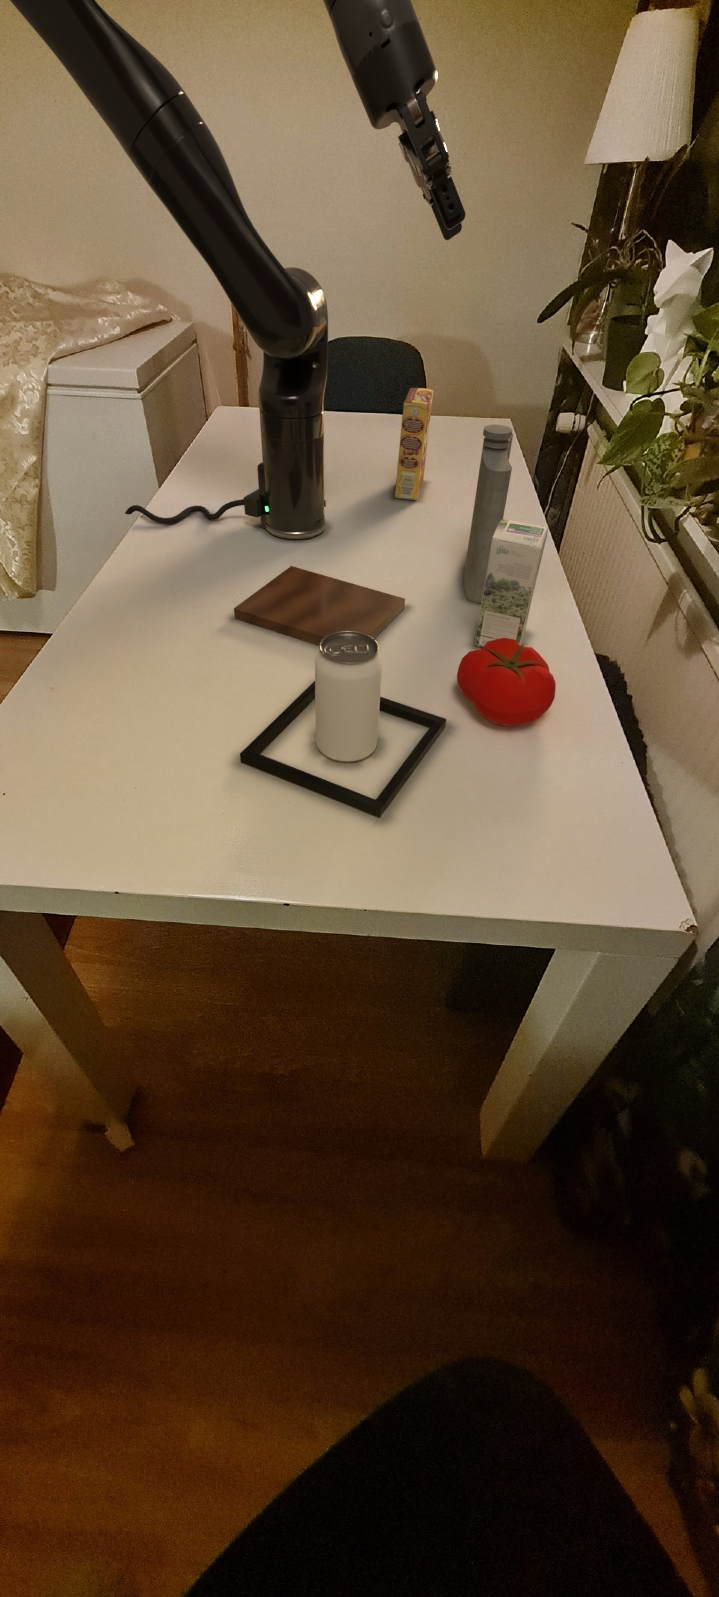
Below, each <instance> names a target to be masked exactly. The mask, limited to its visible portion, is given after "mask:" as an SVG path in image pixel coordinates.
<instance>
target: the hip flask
mask: <svg viewBox="0 0 719 1597" xmlns="http://www.w3.org/2000/svg"><path fill="white" fill-rule="evenodd" d="M482 435H483V443H482V449H481V456H480V464H479V470H478V476H477V484H476V491H475V497H474V505H473V510H472V511H473V512H472V518H471V525H470V531H469V539H468V546H467V550H466V558H465V566H464V572H463V591H464V594H465V598H466V599H467V600H468V601H469V602H472V603H475V604H476V603H477V604H481V602H482V596H483V590H484V584H485V579H486V573H487V567H488V561H489V555H490V549H491V543H492V539H493V535H494V533H495V531H496V529H497V526H498V525H499V523H500V521H501V519H504V516H505V509H506V504H507V499H508V493H509V487H510V482H511V475H512V471H513V467H512V465H511V463H510V456H511V450H512V444H513V439H514V434H513V429H512V428H511V427H509V426H507V425H503V424H488V425H485V426H484V427H483V432H482Z"/></svg>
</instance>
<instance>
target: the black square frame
mask: <svg viewBox="0 0 719 1597" xmlns="http://www.w3.org/2000/svg"><path fill="white" fill-rule="evenodd" d="M314 700H315V680H313V682H311V684H310V685H308V686H307V688H305V690H304V691H302V693H300V694H299V695H298V696H297V697H296V698H295V699H294V700H293V701H292V702H291V703H290V704H289V705H288V706H287V707H286V708H285V709H284V710H283V711H282V712H281V713H280V714H279V715H278V716H277V717H276V718H274V719H273V721H271V723H270V724H269V725H268V726H267V727H266V728H264V730H262V731H261V732H260V734H259V735H258V736H256V737H255V738H254V739H253V740H252V741H251V742H250V743H249V744H248V745H247V746H246V747H245V748H244V749H243V750H242V751H241V752H240V753H239V758H240V760H239V761H240V763H241V764H243V765H247V766H249V767H251V768H254V769H256V770H259V771H261V772H264V773H266V774H269V775H270V776H271V775H272V776H274V777H275V778H276V777H277V778H279V779H281V780H284V781H286V782H288V783H291V784H294V785H295V786H299V787H301V788H304V789H306V790H308V791H311V792H314V793H316V794H319V795H321V796H323V797H326V798H329V799H331V800H333V801H335V802H338V803H342V804H344V805H346V806H348V807H351V808H354V809H356V810H358V811H361V812H363V813H366V814H368V815H371V816H373V817H376V818H378V819H380V818H381V817H382V816H383V814H384V813H385V811H386V810H387V809H388V807H389V806H390V804H391V803H392V802H393V800H394V799H395V798H396V796H397V795H398V794H399V792H400V790H401V789H402V788H403V787H404V785H405V784H406V782H407V781H408V780H409V779H410V777H411V776H412V774H413V773H414V771H415V770H416V769H417V767H418V766H419V765H420V763H421V762H422V761H423V759H424V758H425V757H426V755H427V754H428V753H429V751H430V749H431V748H432V747H433V745H434V744H435V743H436V741H437V740H438V739H439V737H440V736H441V735H442V733H443V732H444V730H445V729H446V726H447V725H446V724H447V718H445V717H442V716H439V715H436V714H433V713H430V712H427V711H424V710H421V709H419V708H415V707H412V706H410V705H406V704H404V703H400V702H398V701H394V700H391V699H389V698H386V697H383V696H380V707H379V712H383V713H386V714H389V715H392V716H394V717H397V718H401V719H403V720H406V721H409V722H412V723H414V724H418V725H421V726H423V727H427V728H428V729H427V731H426V732H425V733H424V735H423V736H422V737H421V738H420V739H419V741H418V742H417V744H416V745H415V747H414V748H413V750H412V751H411V752H410V753H409V754H408V755H407V757H406V759H405V760H404V761H403V763H402V764H401V765H400V766H399V768H398V770H396V772H395V773H394V775H393V776H392V777H391V779H390V780H389V781H388V783H387V784H386V785H385V787H384V788H383V789H382V790H381V792H380V793H379V795H378V796H377V797H376V798H373V797H370V796H368V795H365V794H363V793H360V792H358V791H355V790H352V789H350V788H347V787H345V786H342V785H339V784H336V783H334V782H332V781H329V780H327V779H324V778H321V777H319V776H317V775H314V774H312V773H309V772H307V771H305V770H301V769H299V768H296V767H294V766H292V765H288V764H286V763H284V762H281V761H278V760H276V759H273V758H271V757H268V756H266V755H263V754H262V752H263V751H265V749H266V748H268V746H269V745H270V744H271V743H272V742H273V741H274V740H275V739H277V737H279V735H280V734H282V732H284V730H285V729H286V728H287V727H289V725H291V723H292V722H293V721H294V720H295V719H296V718H298V716H299V715H300V714H301V713H303V711H304V710H305V709H306V708H308V706H309V705H310V704H312V702H313V701H314Z"/></svg>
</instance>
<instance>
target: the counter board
mask: <svg viewBox="0 0 719 1597" xmlns="http://www.w3.org/2000/svg"><path fill="white" fill-rule="evenodd" d="M405 604H406V598H404V597H401V596H397V595H395V594H391V593H387V592H383V591H381V590H376V589H373V588H369V587H367V586H363V585H359V584H355V583H352V582H349V581H346V580H342V579H338V578H335V577H331V576H327V575H326V574H325V575H324V574H321V573H317V572H315V571H311V570H307V569H303V568H300V567H296V566H293V565H290V566H289V567H287V568H286V569H284V570H283V571H282V572H281V573H279V574H278V575H276V576H275V577H274V578H273V579H271V580H270V581H268V583H266V584H265V585H263V586H262V587H260V588H259V589H258V590H257V591H255V592H254V593H253V594H251V595H250V596H248V597H247V598H245V599H244V600H243V601H241V602H240V603H239V604H237V605H236V606H234V608H233V614H234V619H236V620H238V621H242V622H244V623H247V624H250V625H254V626H257V627H260V628H263V629H266V630H269V631H271V632H275V633H278V634H282V635H284V636H288V637H291V638H294V639H297V640H299V641H303V642H306V643H309V644H312V645H315V646H318V647H319V644H320V642H321V640H322V639H323V638H325V637H326V636H328V635H330V634H332V633H335V632H340V631H355V632H360V633H364V634H366V635H369V636H370V637H372V638H373V639H374V640H375V639H376V638H377V637H378V636H379V635H380V634H381V633H382V632H383V631H384V630H385V629H386V628H387V627H388V626H389V624H391V622H392V621H393V620H395V619H396V618H397V617H398V615H399V614H401V612H403V610H405V607H406V606H405Z"/></svg>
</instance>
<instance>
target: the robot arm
mask: <svg viewBox="0 0 719 1597" xmlns="http://www.w3.org/2000/svg"><path fill="white" fill-rule="evenodd" d="M9 1H10V3H11V4H12V5H13V7H14V8H15V9H16V10H17V11H18V12H19V13H20V15H22V17H23V18H24V19H25V20H26V21H27V23H28V24H29V26H31V28H32V29H33V30H34V32H36V34H37V35H38V36H39V37H40V38H41V40H43V42H44V43H45V44H46V45H47V47H48V48H49V49H50V51H51V52H52V53H53V54H54V56H55V57H56V58H57V60H59V62H60V63H61V65H62V66H63V67H64V68H65V70H66V71H67V73H68V74H69V75H70V77H71V79H72V80H73V81H74V82H75V83H76V85H77V87H78V88H79V89H80V91H81V92H82V93H83V95H84V96H85V97H86V99H87V100H88V102H89V103H90V104H91V106H92V107H93V109H94V110H95V111H96V112H97V114H98V115H99V117H101V120H102V121H103V122H104V124H105V125H106V126H107V127H108V129H109V130H110V132H111V133H112V134H113V136H114V138H115V139H116V140H117V142H118V143H119V145H120V146H121V148H122V150H123V151H124V152H125V154H126V156H127V157H128V158H129V160H130V161H131V163H132V164H133V166H134V167H135V168H136V170H137V171H138V172H139V174H140V175H141V178H143V180H144V181H145V182H146V184H147V185H148V186H149V189H150V190H151V191H152V192H153V194H154V195H155V196H156V197H157V198H158V199H159V201H160V202H161V204H162V205H163V206H164V208H165V209H166V210H167V211H168V213H169V214H170V216H171V217H172V219H173V220H174V222H175V223H176V224H177V226H178V227H179V229H180V230H181V231H182V233H183V234H184V235H185V237H186V238H187V239H188V241H189V242H190V243H191V245H192V246H193V247H194V248H195V250H196V251H197V252H198V254H199V255H200V257H201V258H202V259H203V260H204V262H205V263H206V265H207V266H208V267H209V269H210V270H211V272H212V273H213V275H214V277H215V279H216V280H217V282H218V283H219V285H220V287H221V288H222V290H223V291H224V293H225V295H226V296H227V299H228V301H229V302H230V303H231V305H232V307H233V308H234V310H235V312H236V313H237V315H238V317H239V318H240V321H241V322H242V324H243V326H244V327H245V329H246V330H247V332H248V334H249V336H250V337H251V339H252V340H253V341H254V343H255V344H256V346H257V347H258V348H259V349H260V350H261V351H262V355H263V356H262V357H263V358H262V359H263V360H262V361H263V362H262V372H261V378H260V382H259V387H258V392H257V394H258V395H257V398H258V409H259V410H258V411H259V424H260V427H259V428H260V440H261V456H262V461H261V462H259V464H257V467H256V468H257V469H256V470H257V483H258V488H257V489H256V490H254V491H252V492H250V493H248V494H247V495H246V496H243V498H242V499H236V500H232V501H229V502H227V503H224V504H223V505H221V507H219V508H218V510H217V511H216V512H214V513H211V512H210V511H209V509H208V508H206V507H205V506H203V505H191V506H188V507H187V508H185V509H183V510H182V511H180V512H179V513H178V514H177V515H174V516H171V517H170V516H169V517H161V516H158V515H156V514H154V513H152V512H150V511H149V510H148V509H146V508H145V507H143V506H141V505H139V504H134V505H131V506H129V507H127V509H126V511H125V512H124V515H132V514H133V513H134V512H138V513H141V514H142V515H144V516H145V517H146V518H148V519H149V520H150V521H153V522H155V523H157V524H161V525H162V524H163V525H164V524H165V525H170V524H176V523H178V522H180V521H181V520H182V519H184V518H185V517H187V516H188V515H189V514H192V513H197V512H199V513H200V512H201V513H202V514H203V515H204V517H205V518H207V519H208V520H210V521H215V520H218V519H220V518H221V517H222V516H223V515H224V513H226V512H227V511H228V510H230V509H232V508H236V507H241V506H242V507H244V508H243V509H244V515H245V516H249V517H253V518H257V519H258V518H260V527H261V528H262V529H266V531H267V532H268V533H269V534H271V535H272V536H274V537H277V538H282V539H287V540H304V539H305V540H306V539H310V538H313V537H317V536H319V535H320V534H322V533H323V532H324V531H325V528H326V520H325V519H326V518H325V517H326V516H325V508H326V507H327V500H326V499H325V393H326V388H327V381H328V356H329V354H328V353H329V312H328V304H327V298H326V295H325V292H324V289H323V288H322V286H321V284H320V282H319V281H318V280H317V278H316V277H314V276H313V274H311V273H310V272H309V271H307V270H306V269H303V268H300V267H295V266H288V267H284V266H283V265H282V263H281V262H280V261H279V260H278V259H277V257H276V256H275V254H274V252H272V250H271V249H270V248H269V247H268V245H267V244H266V242H265V241H264V239H263V238H262V237H261V235H260V234H259V232H258V230H257V229H256V228H255V225H254V224H253V222H252V221H251V219H250V216H249V215H248V213H247V211H246V209H245V207H244V204H243V202H242V200H241V199H242V198H241V197H240V194H239V192H238V188H237V186H236V184H235V181H234V178H233V176H232V174H231V171H230V168H229V166H228V163H227V161H226V160H225V159H226V158H225V156H224V155H223V152H222V149H221V148H220V146H219V144H218V143H217V141H216V139H215V137H214V134H212V132H211V131H210V128H209V127H208V125H207V123H206V122H205V121H204V119H203V117H202V116H201V114H200V112H199V111H198V110H197V108H196V106H195V105H194V104H193V102H192V100H191V98H190V97H189V96H188V95H187V93H186V91H185V90H184V88H183V87H182V86H181V85H180V83H179V81H178V80H177V79H176V77H174V75H173V74H172V73H171V71H169V70H168V68H167V67H166V66H164V64H163V63H162V62H161V61H160V60H159V59H158V58H157V57H156V56H155V55H153V54H152V53H151V52H150V51H149V50H148V49H147V48H146V47H145V46H144V45H142V44H141V43H140V42H139V41H138V40H137V39H136V38H134V36H132V35H131V34H130V33H129V32H128V31H126V30H125V28H124V27H122V26H121V24H119V23H118V22H117V21H116V20H115V19H113V17H111V15H110V14H109V13H108V12H107V11H106V10H105V9H104V8H103V7H102V6H101V5H100V4H99V3H98V1H96V0H9ZM322 3H323V5H324V7H325V10H326V12H327V15H328V18H329V19H330V22H331V26H332V29H333V32H334V36H335V39H336V42H337V45H338V48H339V50H340V53H341V56H342V58H343V61H344V63H345V66H346V68H347V70H348V73H349V75H350V78H351V80H352V81H353V84H354V87H355V89H356V92H357V94H358V96H359V99H360V101H361V104H362V106H363V108H364V110H365V113H366V116H367V118H368V120H369V122H370V125H371V127H372V128H373V129H375V130H384V129H386V128H388V127H390V126H391V125H392V124H393V123H396V124H398V126H399V128H400V131H401V134H400V135H399V136H397V140H398V147H399V149H400V151H401V152H400V153H401V154H402V156H403V158H404V160H405V162H406V163H407V164H408V166H409V169H410V172H411V174H412V178H413V180H414V182H415V184H416V186H417V188H419V189H420V190H421V191H422V192H421V193H422V198H423V200H425V202H426V204H427V205H428V206H429V207H430V208H431V210H432V213H433V215H434V218H435V220H436V222H437V225H438V227H439V230H440V232H441V235H442V238H443V239H444V241H450V240H451V239H453V238H454V237H456V236H457V235H458V234H460V233H461V232H462V229H463V225H462V222H464V220H465V219H466V211H465V208H464V206H463V203H462V200H461V198H460V196H459V192H458V190H457V186H456V185H455V182H454V180H453V177H452V176H450V175H452V166H451V163H450V160H449V158H450V154H449V152H448V150H447V146H446V143H445V140H444V138H443V135H442V134H441V132H440V127H439V123H438V119H437V116H436V115H435V112H434V110H430V107H429V105H428V102H427V101H428V99H427V96H428V95H429V94H430V93H431V91H432V90H433V89H434V87H435V85H436V83H437V81H438V76H439V75H438V70H437V67H436V64H435V62H434V59H433V56H432V53H431V51H430V48H429V45H428V43H427V40H426V37H425V35H424V33H423V30H422V27H421V24H420V21H419V19H418V16H417V13H416V11H415V8H414V6H413V3H412V0H322Z"/></svg>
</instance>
